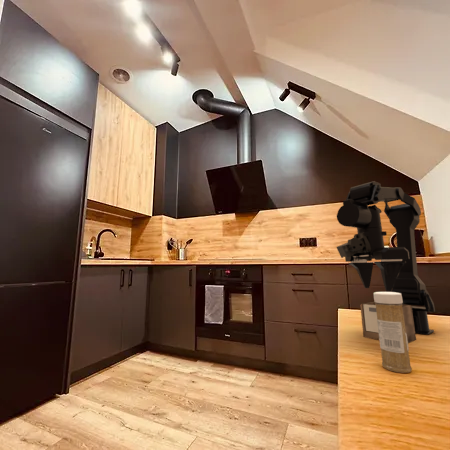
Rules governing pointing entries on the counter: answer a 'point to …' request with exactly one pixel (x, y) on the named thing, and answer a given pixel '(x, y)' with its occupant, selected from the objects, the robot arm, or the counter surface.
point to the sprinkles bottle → (392, 332)
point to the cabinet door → (370, 318)
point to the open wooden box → (407, 320)
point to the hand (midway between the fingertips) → (377, 289)
